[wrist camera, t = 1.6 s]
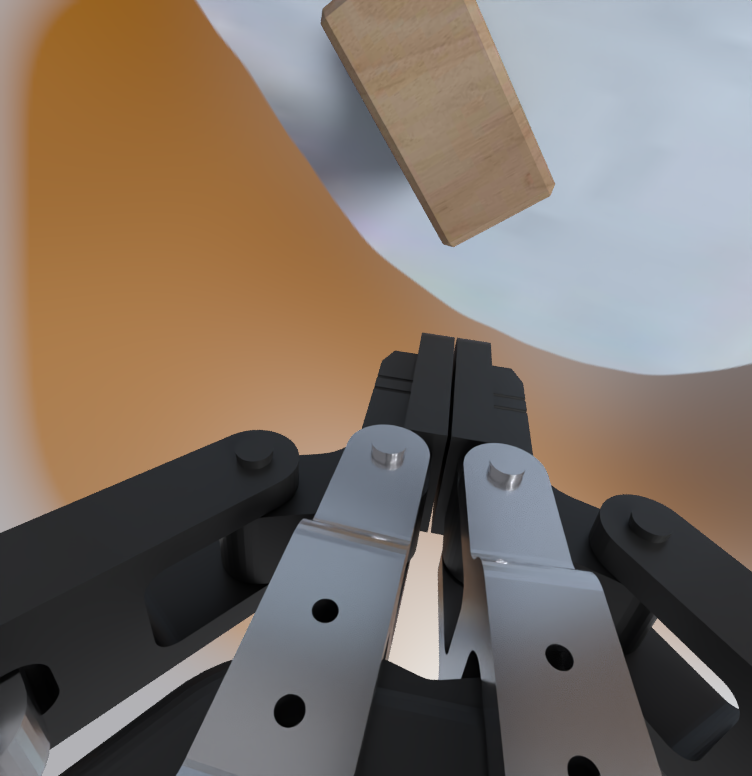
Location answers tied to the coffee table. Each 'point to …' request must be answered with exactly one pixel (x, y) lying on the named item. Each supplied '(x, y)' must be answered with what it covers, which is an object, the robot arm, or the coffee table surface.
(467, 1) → the decorative block
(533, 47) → the coffee table surface
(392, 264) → the coffee table surface
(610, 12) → the coffee table surface
